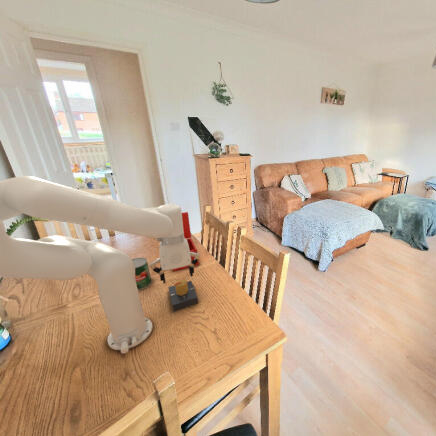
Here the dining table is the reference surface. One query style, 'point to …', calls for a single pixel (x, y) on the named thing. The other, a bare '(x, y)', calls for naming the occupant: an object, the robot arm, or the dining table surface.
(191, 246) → the open red box
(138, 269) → the canned tomato
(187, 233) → the red box lid
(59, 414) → the dining table surface
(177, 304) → the panel
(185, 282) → the knob
